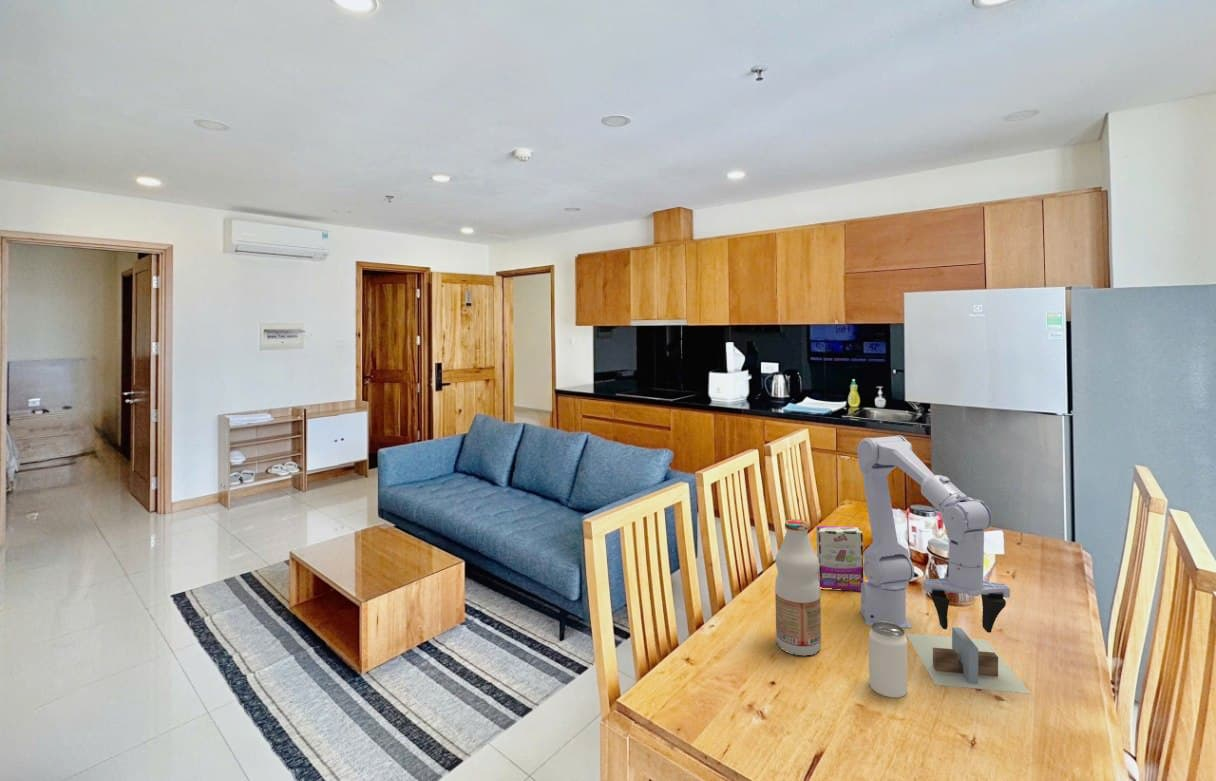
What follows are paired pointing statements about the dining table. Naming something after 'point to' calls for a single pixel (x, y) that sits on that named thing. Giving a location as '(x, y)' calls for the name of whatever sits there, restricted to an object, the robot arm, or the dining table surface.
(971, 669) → the grey flat block
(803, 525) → the fruit juice
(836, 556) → the candy bar box
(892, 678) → the can
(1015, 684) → the felt mat
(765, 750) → the dining table surface
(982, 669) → the walnut slotted plate
